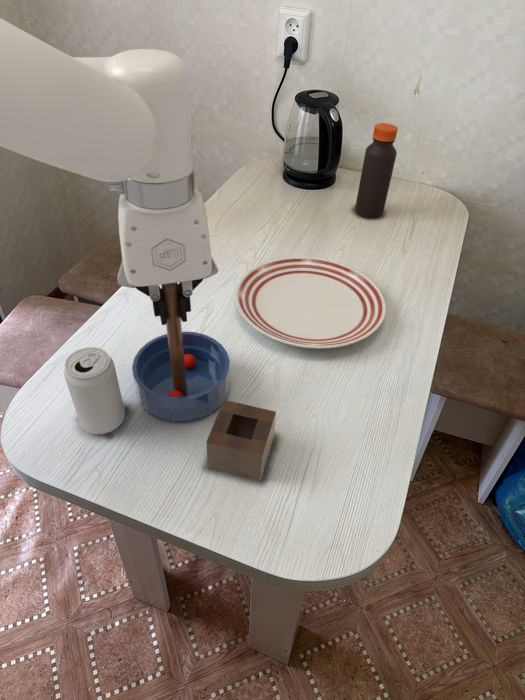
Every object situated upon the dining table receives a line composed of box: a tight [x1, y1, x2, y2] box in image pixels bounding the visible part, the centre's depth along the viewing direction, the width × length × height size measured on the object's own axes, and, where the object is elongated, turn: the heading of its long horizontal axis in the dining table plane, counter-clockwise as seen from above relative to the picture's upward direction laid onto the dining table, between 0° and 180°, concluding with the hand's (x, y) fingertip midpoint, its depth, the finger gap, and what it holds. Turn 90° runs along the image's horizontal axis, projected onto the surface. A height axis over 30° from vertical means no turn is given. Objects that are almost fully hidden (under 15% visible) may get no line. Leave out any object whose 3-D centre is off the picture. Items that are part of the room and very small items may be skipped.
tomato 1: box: [168, 390, 183, 397], centre depth 74 cm, size 2×2×2 cm
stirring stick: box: [160, 282, 187, 394], centre depth 70 cm, size 2×2×20 cm
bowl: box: [131, 331, 231, 422], centre depth 77 cm, size 14×14×6 cm
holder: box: [206, 399, 277, 482], centre depth 68 cm, size 7×7×6 cm
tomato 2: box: [184, 354, 196, 369], centre depth 80 cm, size 2×2×2 cm
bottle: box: [354, 122, 399, 219], centre depth 115 cm, size 7×7×20 cm
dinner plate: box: [234, 256, 387, 350], centre depth 93 cm, size 27×27×3 cm
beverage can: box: [63, 346, 126, 435], centre depth 69 cm, size 6×6×12 cm
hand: (172, 315), depth 67 cm, fingers closed on stirring stick, 2 cm apart
